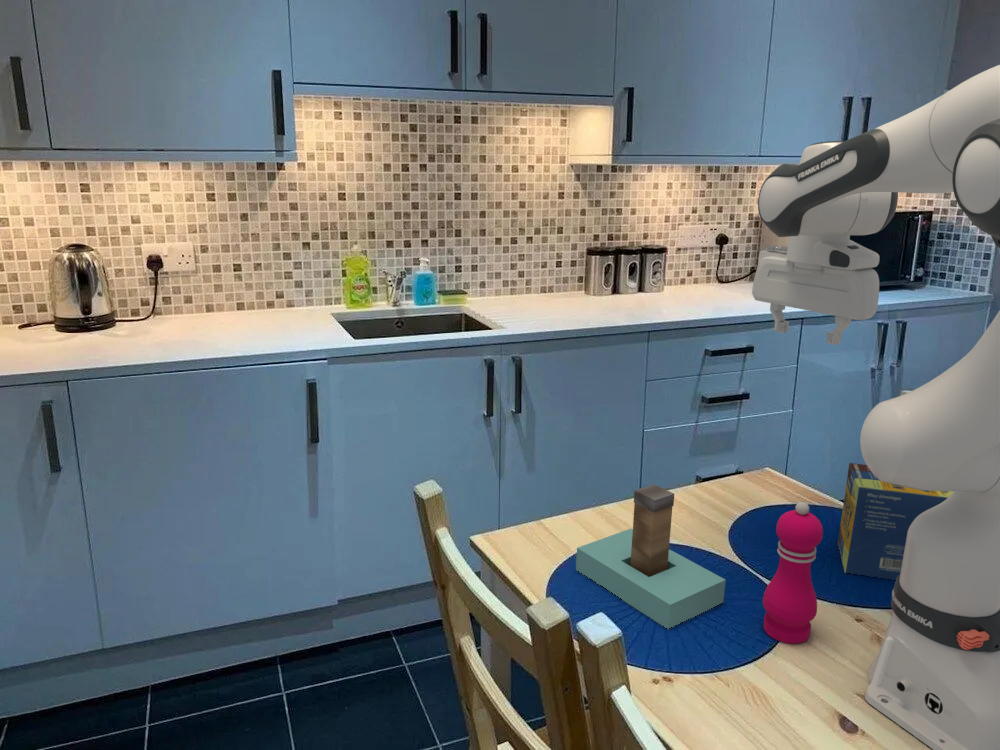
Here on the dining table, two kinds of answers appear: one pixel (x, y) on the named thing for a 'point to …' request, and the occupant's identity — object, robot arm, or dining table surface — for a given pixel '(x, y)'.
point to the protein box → (878, 522)
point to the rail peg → (651, 529)
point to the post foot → (651, 581)
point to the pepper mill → (793, 577)
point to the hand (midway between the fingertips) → (806, 337)
